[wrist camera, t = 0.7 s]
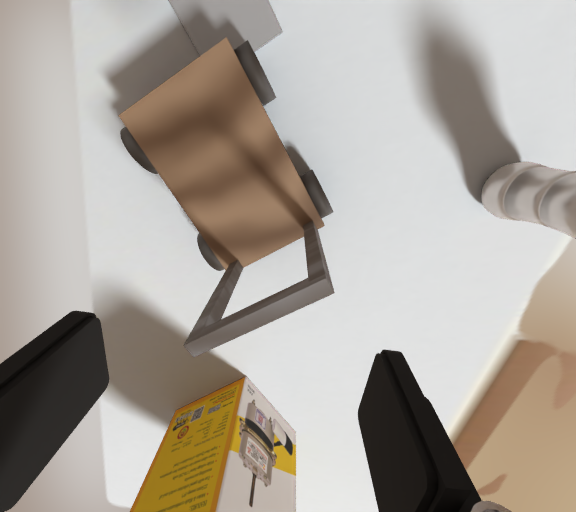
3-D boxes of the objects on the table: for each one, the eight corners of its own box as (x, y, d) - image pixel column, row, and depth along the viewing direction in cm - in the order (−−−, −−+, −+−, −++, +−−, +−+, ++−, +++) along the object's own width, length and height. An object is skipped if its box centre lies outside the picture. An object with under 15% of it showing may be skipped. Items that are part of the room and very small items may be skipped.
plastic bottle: (462, 202, 35) (646, 262, 17) (497, 151, 33) (756, 155, 14) (503, 222, 36) (721, 300, 18) (539, 173, 34) (836, 204, 15)
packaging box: (295, 432, 52) (296, 660, 29) (228, 459, 56) (179, 683, 32) (246, 375, 47) (199, 596, 24) (175, 410, 51) (75, 631, 28)
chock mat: (237, -68, 26) (236, -70, 26) (282, 32, 29) (282, 31, 29) (164, -9, 28) (163, -10, 28) (213, 80, 31) (213, 79, 31)
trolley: (138, 128, 33) (-77, 101, 14) (251, 48, 30) (173, -127, 11) (229, 261, 39) (166, 369, 20) (331, 208, 36) (370, 276, 17)
